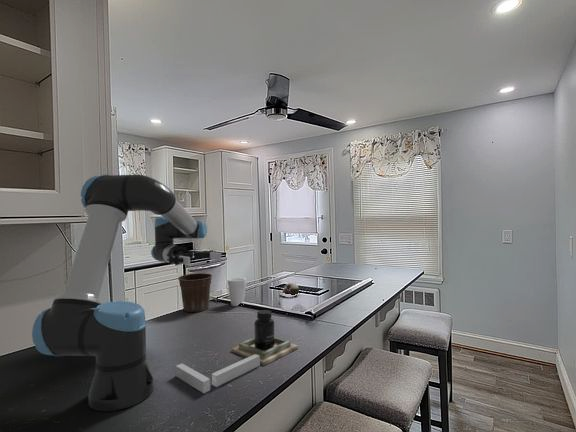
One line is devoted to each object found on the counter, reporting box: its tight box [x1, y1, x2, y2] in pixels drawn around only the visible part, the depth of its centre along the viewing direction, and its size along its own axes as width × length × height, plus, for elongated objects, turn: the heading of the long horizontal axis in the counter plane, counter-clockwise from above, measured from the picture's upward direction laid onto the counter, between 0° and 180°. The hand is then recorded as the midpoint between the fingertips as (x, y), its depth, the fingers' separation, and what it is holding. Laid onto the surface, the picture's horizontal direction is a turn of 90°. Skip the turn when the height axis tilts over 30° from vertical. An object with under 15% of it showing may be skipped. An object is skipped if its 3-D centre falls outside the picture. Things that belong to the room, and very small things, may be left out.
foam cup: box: [227, 276, 247, 307], centre depth 167 cm, size 10×9×13 cm
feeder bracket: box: [175, 354, 261, 394], centre depth 97 cm, size 20×14×3 cm
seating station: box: [231, 335, 299, 366], centre depth 111 cm, size 16×16×2 cm
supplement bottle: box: [253, 309, 275, 351], centre depth 111 cm, size 7×7×12 cm
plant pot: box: [177, 273, 213, 313], centre depth 160 cm, size 16×16×16 cm
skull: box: [281, 281, 300, 295], centre depth 184 cm, size 12×10×10 cm
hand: (205, 258), depth 121 cm, fingers open, 13 cm apart
